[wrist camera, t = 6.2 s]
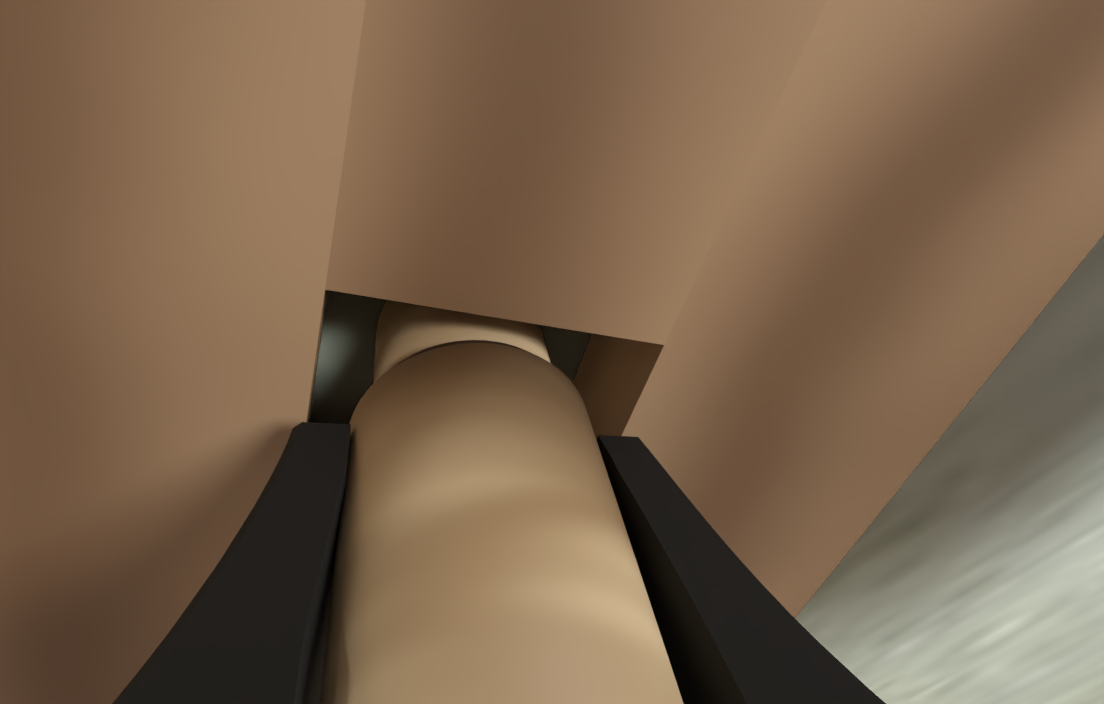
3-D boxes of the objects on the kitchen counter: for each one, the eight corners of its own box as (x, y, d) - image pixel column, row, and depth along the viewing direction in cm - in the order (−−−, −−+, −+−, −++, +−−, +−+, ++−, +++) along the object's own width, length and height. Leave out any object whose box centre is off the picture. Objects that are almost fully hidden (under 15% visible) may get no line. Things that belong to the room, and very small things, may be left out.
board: (1100, -1, 11) (1258, 40, 9) (683, 625, 19) (715, 717, 17) (-287, -571, 6) (-641, -771, 4) (-15, 602, 14) (-82, 726, 12)
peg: (575, 260, 12) (778, 739, 5) (534, 417, 14) (650, 919, 7) (365, 234, 11) (308, 770, 4) (352, 405, 13) (296, 966, 6)
